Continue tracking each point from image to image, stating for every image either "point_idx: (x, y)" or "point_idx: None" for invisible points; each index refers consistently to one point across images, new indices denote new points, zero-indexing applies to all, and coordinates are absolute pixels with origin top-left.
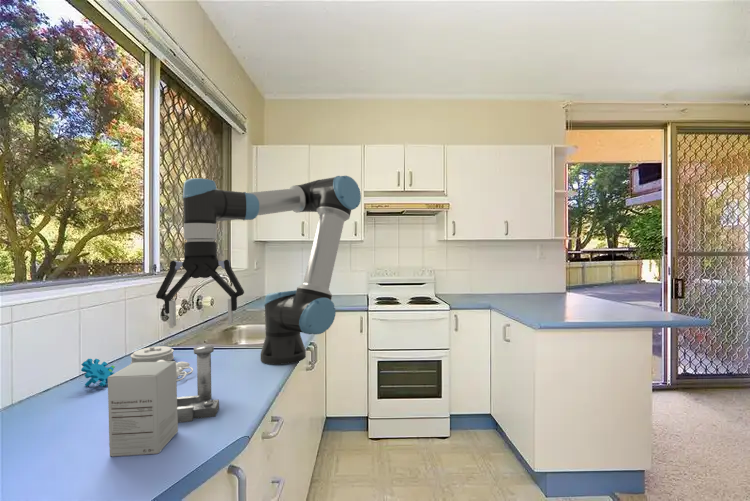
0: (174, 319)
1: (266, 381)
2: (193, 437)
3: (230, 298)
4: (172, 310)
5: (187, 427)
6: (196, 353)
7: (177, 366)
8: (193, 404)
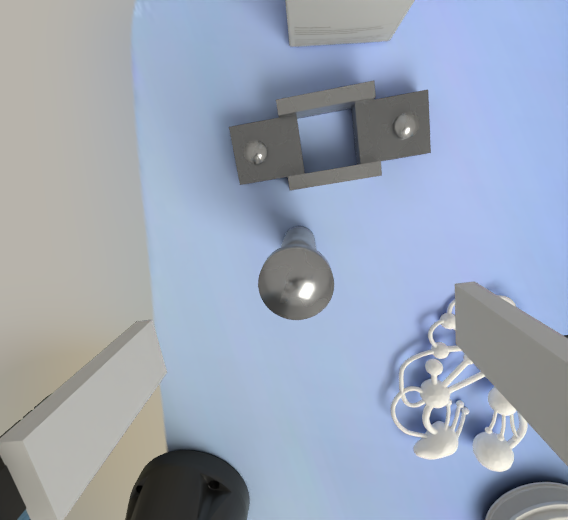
0: (478, 338)
1: (185, 341)
2: (241, 13)
3: (14, 468)
4: (529, 335)
5: (277, 72)
6: (312, 249)
7: (441, 436)
8: (293, 155)
